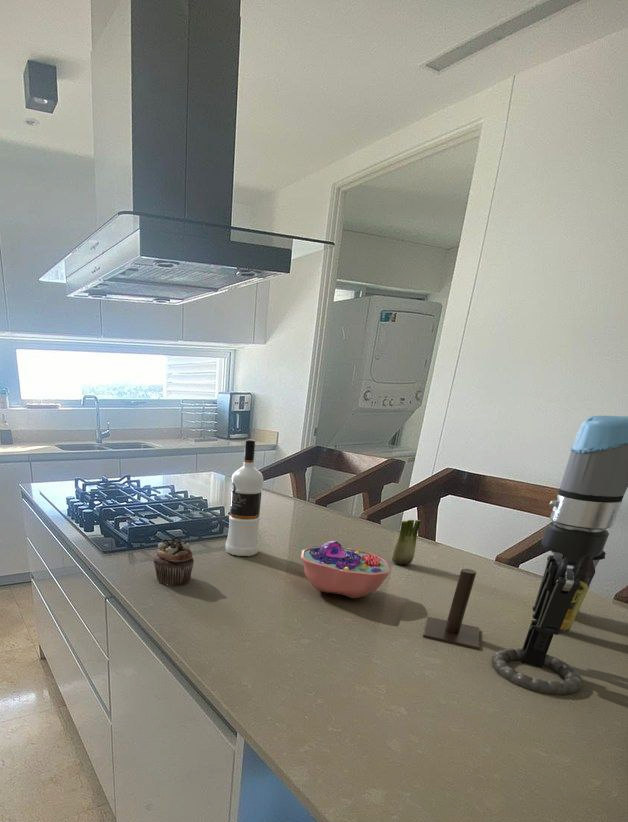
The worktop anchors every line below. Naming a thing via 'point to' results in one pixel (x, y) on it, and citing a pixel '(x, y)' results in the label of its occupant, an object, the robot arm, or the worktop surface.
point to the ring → (546, 687)
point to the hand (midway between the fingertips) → (530, 660)
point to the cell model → (343, 570)
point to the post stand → (456, 617)
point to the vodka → (245, 506)
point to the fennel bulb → (406, 542)
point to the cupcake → (173, 562)
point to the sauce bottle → (579, 593)
